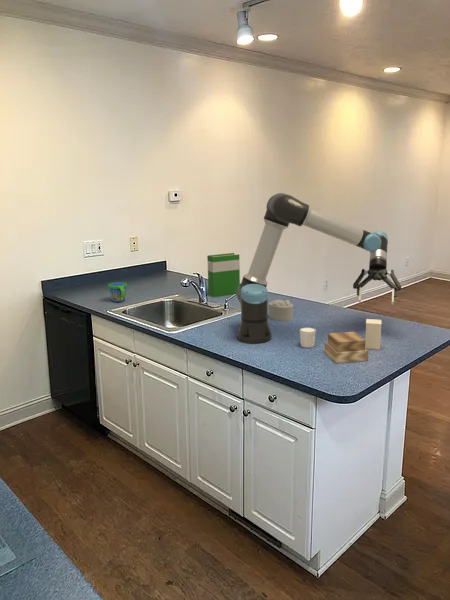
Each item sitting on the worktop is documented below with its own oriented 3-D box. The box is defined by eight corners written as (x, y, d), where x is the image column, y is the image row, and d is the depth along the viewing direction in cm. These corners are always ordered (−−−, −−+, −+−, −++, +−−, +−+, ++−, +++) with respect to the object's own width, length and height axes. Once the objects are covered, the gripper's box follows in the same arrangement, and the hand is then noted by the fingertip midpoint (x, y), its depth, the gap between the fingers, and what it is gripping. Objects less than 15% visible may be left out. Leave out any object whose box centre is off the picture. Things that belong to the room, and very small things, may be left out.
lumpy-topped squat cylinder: (281, 313, 259) (281, 297, 257) (298, 319, 249) (298, 302, 247) (265, 316, 254) (265, 300, 252) (281, 322, 243) (281, 305, 241)
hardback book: (234, 291, 309) (233, 252, 303) (239, 293, 303) (239, 254, 297) (208, 294, 301) (207, 255, 295) (213, 297, 295) (212, 257, 289)
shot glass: (304, 341, 216) (304, 326, 214) (318, 344, 212) (319, 329, 210) (296, 345, 211) (296, 330, 209) (310, 349, 206) (310, 333, 205)
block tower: (335, 363, 191) (336, 343, 189) (324, 351, 204) (324, 332, 202) (367, 360, 193) (368, 341, 191) (354, 349, 205) (355, 330, 203)
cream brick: (364, 348, 206) (366, 323, 203) (365, 343, 212) (366, 318, 209) (379, 349, 204) (381, 324, 202) (379, 344, 210) (381, 319, 207)
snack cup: (131, 302, 287) (130, 285, 284) (113, 305, 282) (112, 287, 280) (123, 297, 300) (122, 280, 298) (106, 299, 296) (104, 282, 293)
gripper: (406, 267, 224) (406, 308, 214) (349, 265, 231) (346, 305, 221) (408, 257, 218) (407, 299, 208) (349, 256, 225) (346, 296, 215)
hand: (376, 302), depth 215 cm, fingers open, 13 cm apart
